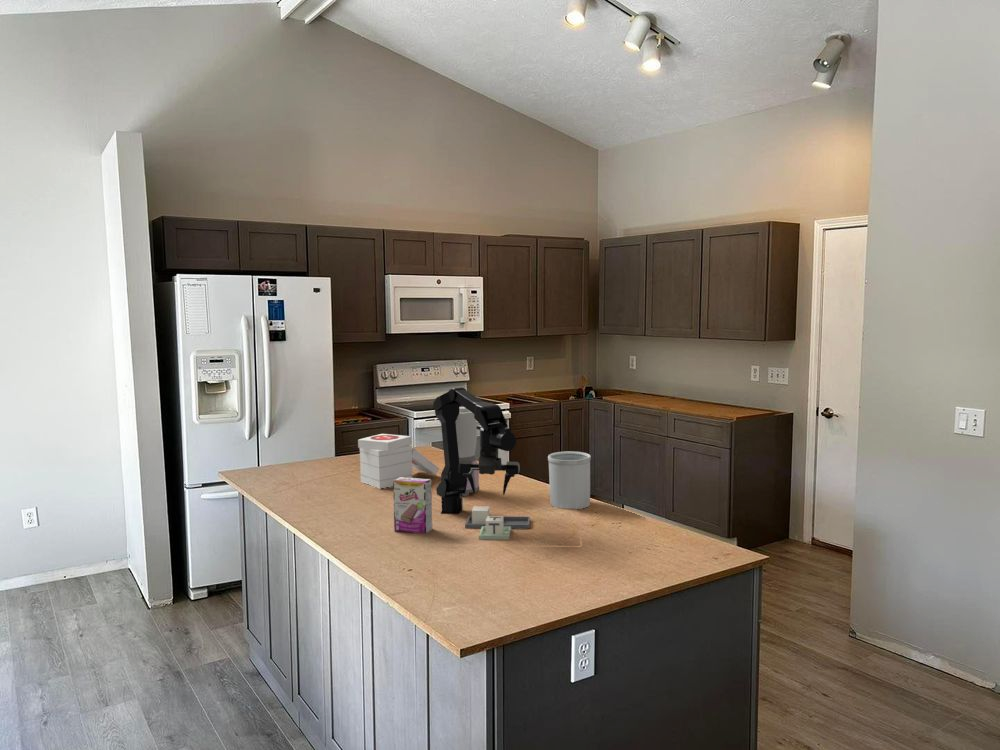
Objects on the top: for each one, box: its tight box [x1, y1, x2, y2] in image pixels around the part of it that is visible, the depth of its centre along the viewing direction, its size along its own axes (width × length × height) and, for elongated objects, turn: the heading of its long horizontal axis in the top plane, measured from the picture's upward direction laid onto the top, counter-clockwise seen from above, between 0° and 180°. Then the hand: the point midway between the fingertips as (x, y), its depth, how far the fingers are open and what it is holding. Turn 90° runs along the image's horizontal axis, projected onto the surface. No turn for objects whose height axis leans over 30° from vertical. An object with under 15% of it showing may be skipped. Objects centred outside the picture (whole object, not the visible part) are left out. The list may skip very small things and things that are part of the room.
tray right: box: [503, 515, 531, 530], centre depth 236 cm, size 9×9×2 cm
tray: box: [478, 526, 512, 541], centre depth 226 cm, size 9×9×2 cm
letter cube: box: [486, 515, 504, 535], centre depth 226 cm, size 5×5×5 cm
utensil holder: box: [547, 450, 592, 510], centre depth 259 cm, size 15×15×18 cm
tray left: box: [464, 515, 486, 529], centre depth 237 cm, size 9×9×2 cm
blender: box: [456, 406, 480, 497], centre depth 276 cm, size 16×12×32 cm
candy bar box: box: [392, 477, 433, 534], centre depth 232 cm, size 11×5×16 cm, turn 71°
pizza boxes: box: [357, 433, 440, 489], centre depth 299 cm, size 19×30×18 cm, turn 129°
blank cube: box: [471, 505, 490, 524], centre depth 237 cm, size 5×5×5 cm
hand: (489, 494), depth 233 cm, fingers open, 9 cm apart
